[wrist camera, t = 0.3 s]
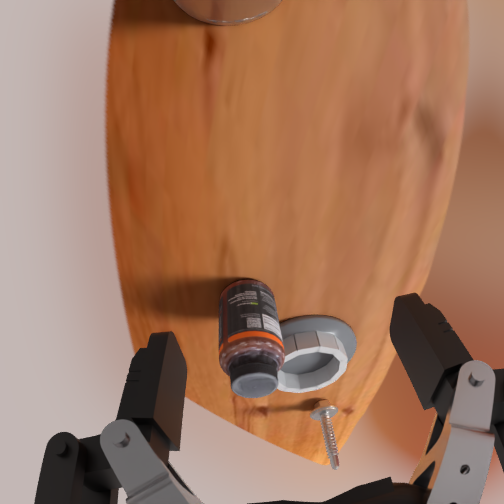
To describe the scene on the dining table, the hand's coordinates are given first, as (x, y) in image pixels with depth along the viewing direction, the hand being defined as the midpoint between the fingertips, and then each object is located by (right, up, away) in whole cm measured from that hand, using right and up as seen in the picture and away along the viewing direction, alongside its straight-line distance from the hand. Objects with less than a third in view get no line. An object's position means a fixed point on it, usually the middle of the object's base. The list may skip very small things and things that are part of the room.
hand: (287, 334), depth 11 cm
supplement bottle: (-2, -2, +23) cm, 23 cm away
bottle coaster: (+6, -10, +29) cm, 31 cm away
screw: (+11, -23, +38) cm, 46 cm away
